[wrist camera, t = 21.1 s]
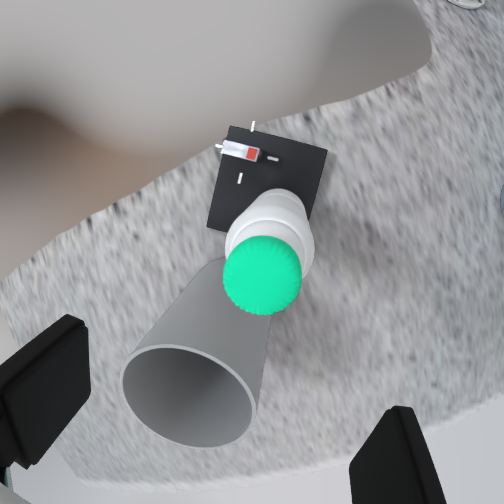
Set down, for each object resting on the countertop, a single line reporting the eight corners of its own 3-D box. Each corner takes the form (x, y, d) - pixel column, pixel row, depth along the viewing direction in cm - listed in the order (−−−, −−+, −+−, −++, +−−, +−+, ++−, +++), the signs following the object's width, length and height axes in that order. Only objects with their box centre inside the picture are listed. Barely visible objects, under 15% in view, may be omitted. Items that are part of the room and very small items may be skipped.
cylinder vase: (188, 319, 52) (121, 425, 28) (199, 247, 48) (118, 324, 24) (263, 339, 51) (241, 461, 27) (282, 266, 47) (272, 368, 23)
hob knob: (229, 154, 41) (219, 152, 35) (232, 142, 41) (223, 139, 35) (260, 162, 41) (255, 162, 35) (263, 150, 40) (259, 148, 35)
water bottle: (264, 179, 41) (226, 200, 17) (314, 201, 41) (344, 253, 17) (243, 228, 43) (184, 308, 19) (292, 249, 43) (290, 353, 19)
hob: (227, 118, 43) (222, 114, 40) (327, 142, 42) (330, 141, 39) (203, 221, 47) (197, 225, 44) (299, 246, 46) (299, 252, 43)
